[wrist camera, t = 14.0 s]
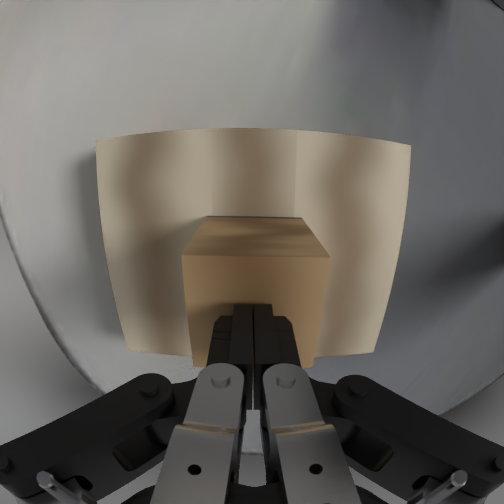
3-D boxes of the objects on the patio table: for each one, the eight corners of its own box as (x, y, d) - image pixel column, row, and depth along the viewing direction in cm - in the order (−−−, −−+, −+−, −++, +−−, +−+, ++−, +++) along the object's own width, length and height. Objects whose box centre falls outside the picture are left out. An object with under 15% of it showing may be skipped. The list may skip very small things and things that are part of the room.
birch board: (387, 145, 18) (410, 145, 15) (360, 328, 23) (373, 352, 20) (119, 140, 18) (95, 140, 14) (140, 326, 23) (127, 349, 20)
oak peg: (294, 207, 19) (330, 257, 10) (289, 280, 21) (312, 367, 12) (213, 206, 19) (181, 255, 10) (215, 279, 21) (193, 366, 12)
